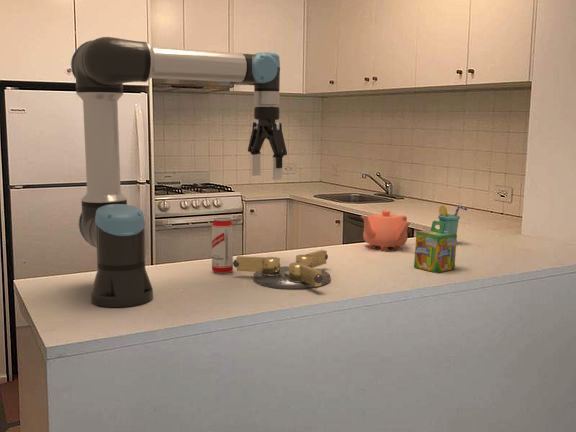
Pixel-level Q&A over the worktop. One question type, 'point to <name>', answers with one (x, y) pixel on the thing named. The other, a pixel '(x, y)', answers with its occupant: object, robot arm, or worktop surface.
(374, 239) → the teapot
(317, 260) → the knob
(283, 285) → the levelling base
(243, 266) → the knob
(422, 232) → the chalk box
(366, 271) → the worktop surface
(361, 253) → the worktop surface
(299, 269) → the knob
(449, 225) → the cup
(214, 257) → the beer can
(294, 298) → the worktop surface
